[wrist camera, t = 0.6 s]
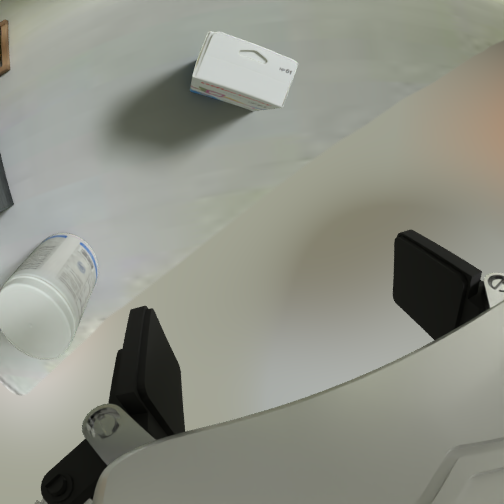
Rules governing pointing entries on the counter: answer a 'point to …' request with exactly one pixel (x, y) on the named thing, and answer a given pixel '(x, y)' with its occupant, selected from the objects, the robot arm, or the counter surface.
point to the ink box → (242, 73)
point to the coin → (0, 49)
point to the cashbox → (4, 190)
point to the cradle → (4, 47)
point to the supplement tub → (48, 296)
